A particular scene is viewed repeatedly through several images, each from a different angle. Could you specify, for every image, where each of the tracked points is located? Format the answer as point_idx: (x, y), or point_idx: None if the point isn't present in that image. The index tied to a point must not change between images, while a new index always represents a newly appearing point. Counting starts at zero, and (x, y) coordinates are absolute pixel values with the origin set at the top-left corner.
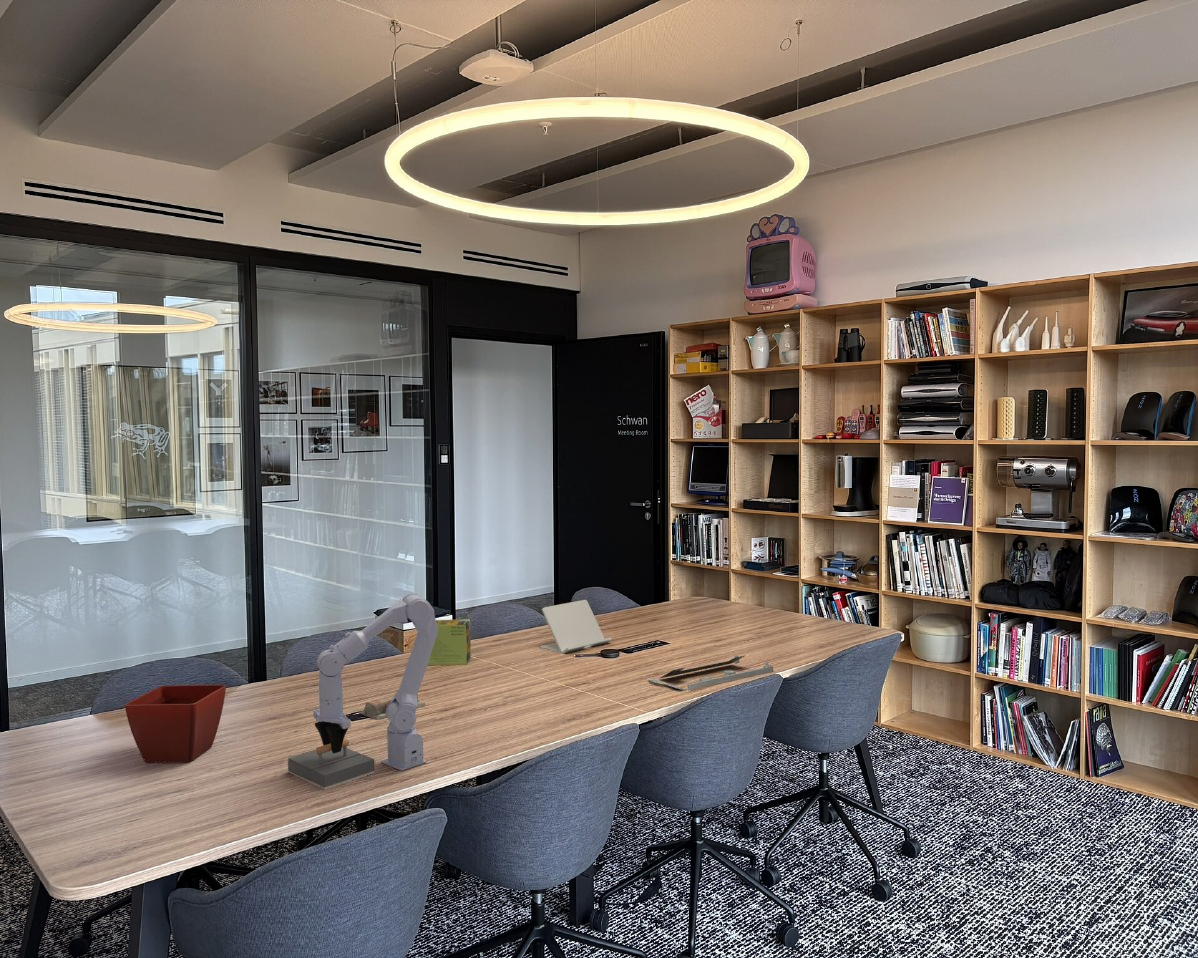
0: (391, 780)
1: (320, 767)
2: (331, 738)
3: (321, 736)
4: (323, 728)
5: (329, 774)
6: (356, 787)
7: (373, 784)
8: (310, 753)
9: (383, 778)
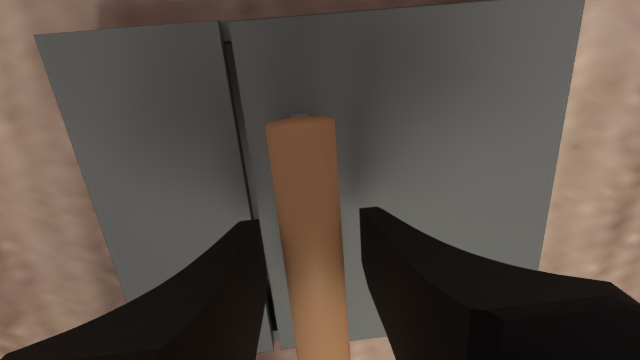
0: (37, 324)
1: (221, 86)
2: (172, 284)
3: (422, 245)
4: (432, 334)
5: (54, 78)
6: (34, 181)
7: (30, 254)
8: (522, 152)
9: (83, 311)
